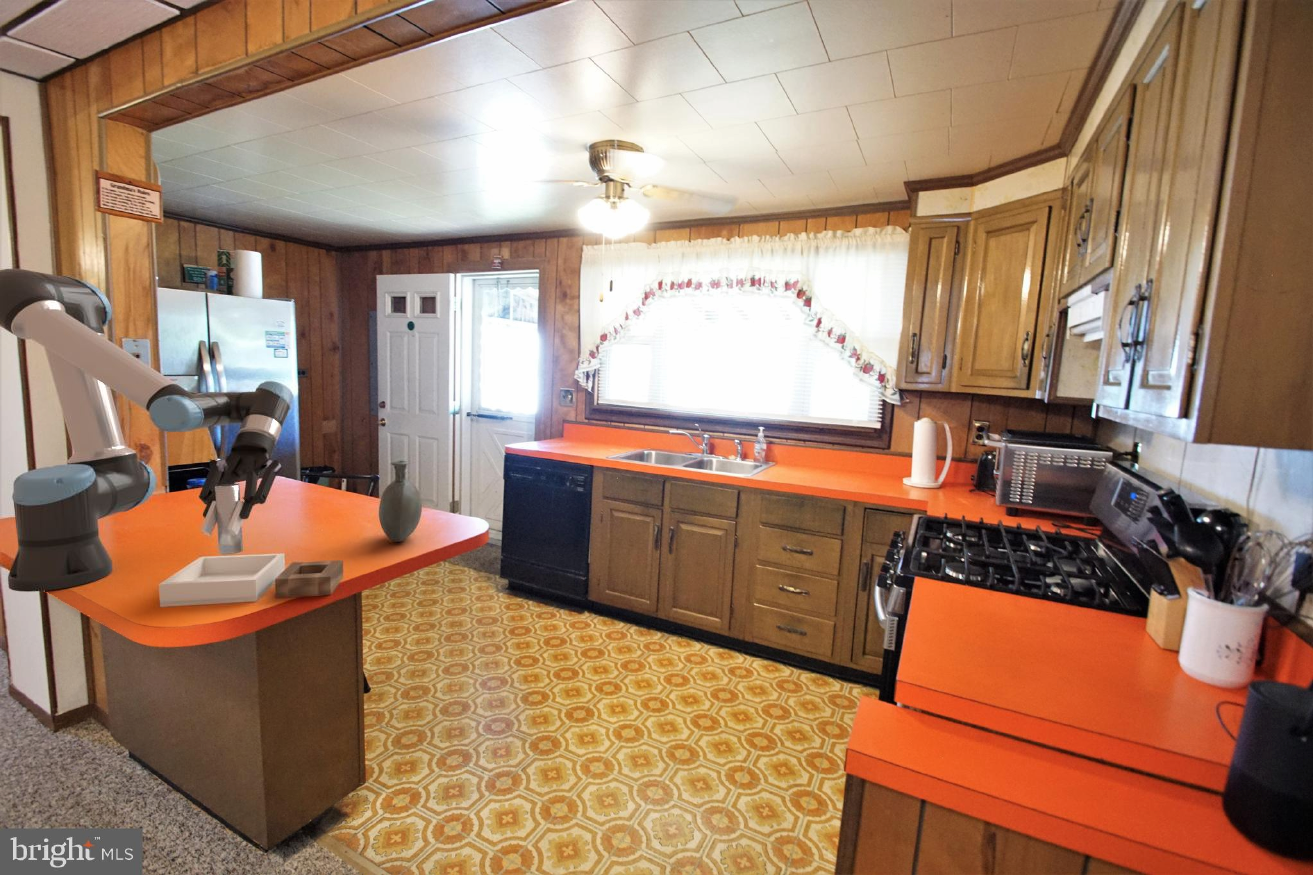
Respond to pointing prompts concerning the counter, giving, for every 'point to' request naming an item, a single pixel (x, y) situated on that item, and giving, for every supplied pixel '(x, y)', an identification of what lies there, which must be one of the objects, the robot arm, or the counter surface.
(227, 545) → the steel pin
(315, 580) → the socket block
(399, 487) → the flask
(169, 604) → the tray
